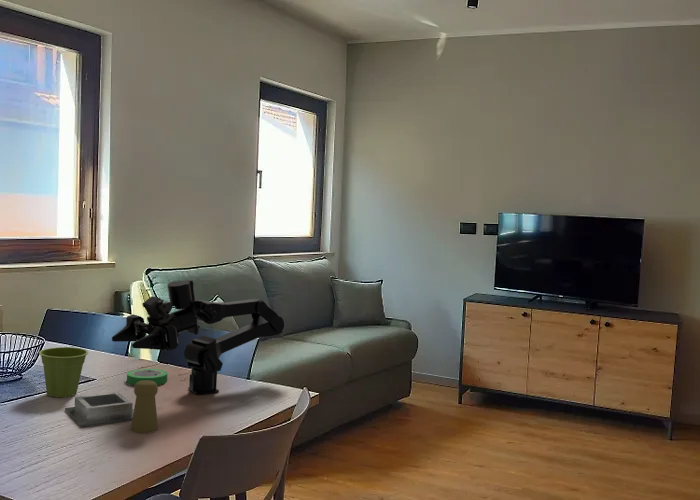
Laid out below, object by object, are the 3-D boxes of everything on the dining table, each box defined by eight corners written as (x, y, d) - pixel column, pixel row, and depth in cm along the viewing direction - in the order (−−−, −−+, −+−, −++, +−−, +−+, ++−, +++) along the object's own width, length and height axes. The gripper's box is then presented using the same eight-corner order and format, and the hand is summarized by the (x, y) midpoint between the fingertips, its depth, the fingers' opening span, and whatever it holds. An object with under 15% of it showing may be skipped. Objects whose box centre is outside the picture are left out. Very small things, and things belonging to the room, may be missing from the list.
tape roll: (119, 381, 198) (119, 371, 198) (152, 375, 206) (153, 366, 206) (140, 389, 191) (141, 379, 191) (174, 383, 199) (175, 374, 199)
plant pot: (56, 403, 173) (58, 359, 172) (27, 394, 179) (29, 351, 178) (96, 394, 183) (98, 352, 182) (67, 385, 189) (69, 344, 188)
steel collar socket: (122, 403, 176) (123, 389, 176) (142, 418, 165) (142, 404, 165) (64, 410, 168) (65, 395, 168) (81, 427, 157) (81, 411, 157)
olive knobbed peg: (150, 434, 155) (152, 386, 154) (125, 431, 156) (127, 383, 155) (162, 426, 161) (164, 379, 160) (138, 423, 162) (140, 376, 161)
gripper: (150, 289, 187) (96, 306, 175) (192, 298, 175) (137, 317, 163) (156, 328, 189) (104, 347, 178) (198, 340, 177) (145, 361, 166)
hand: (122, 342), depth 171 cm, fingers open, 9 cm apart
